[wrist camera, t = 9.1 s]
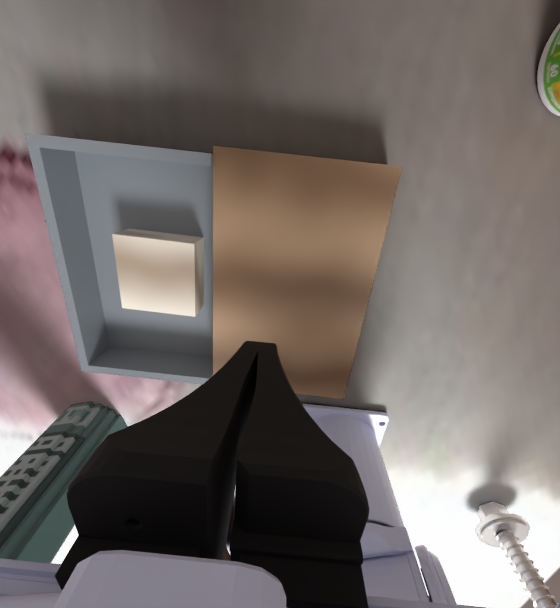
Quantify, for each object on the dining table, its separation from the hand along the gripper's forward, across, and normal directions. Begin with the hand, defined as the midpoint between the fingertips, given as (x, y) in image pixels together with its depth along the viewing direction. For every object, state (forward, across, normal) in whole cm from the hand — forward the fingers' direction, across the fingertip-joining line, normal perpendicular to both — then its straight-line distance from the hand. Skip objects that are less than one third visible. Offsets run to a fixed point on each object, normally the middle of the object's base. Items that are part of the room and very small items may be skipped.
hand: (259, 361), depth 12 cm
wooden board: (+9, -1, 0) cm, 9 cm away
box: (+9, +8, 0) cm, 12 cm away
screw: (+10, -25, +23) cm, 35 cm away
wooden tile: (+9, +8, -1) cm, 12 cm away
